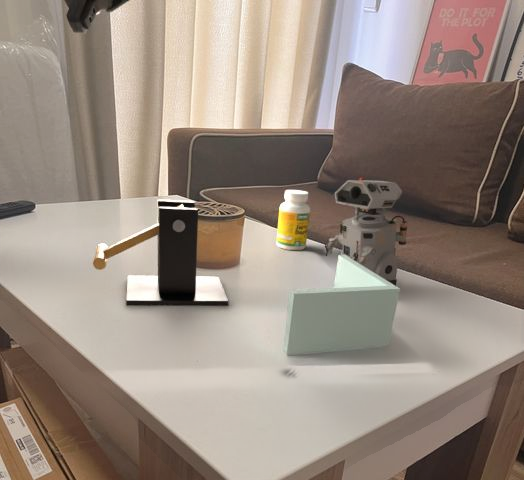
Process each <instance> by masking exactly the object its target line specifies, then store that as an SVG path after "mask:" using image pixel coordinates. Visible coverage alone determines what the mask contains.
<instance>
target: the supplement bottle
mask: <svg viewBox="0 0 524 480" xmlns="http://www.w3.org/2000/svg"><path fill="white" fill-rule="evenodd" d="M284 200H285V201H284V202H282V203H280V206H279V210H278V222H277V233H276V246H277V247H279V248H280V249H283V250H288V251H301V250H304V249H305V248H306V247H307V240H308V232H309V224H310V215H311V207H310V206H309V205H308V204H307V202H308V200H309V192H308V191H305V190H300V189H286V190H285V191H284Z"/></svg>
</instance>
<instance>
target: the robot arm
mask: <svg viewBox="0 0 524 480" xmlns="http://www.w3.org/2000/svg"><path fill="white" fill-rule="evenodd" d="M63 1H64V3H65V4H66V6H67V8H68V10H67V12H66V14H65V15H66V19H67V22H68V24H69V26H70V28H71V29H72V31H73V33H75V34H87V31H88V30H90V29H91V28H92V26H93V24H94V21H95V19H96V17H97V15H99V14H100V13H101V12H102V10H105V12H106V13H112V12H115V10H117V9H119V8H120V7H122V6H123V5H125V4H127V3H128V2H130V0H63Z"/></svg>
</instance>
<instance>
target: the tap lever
mask: <svg viewBox="0 0 524 480" xmlns="http://www.w3.org/2000/svg"><path fill="white" fill-rule="evenodd" d="M177 207H181V208H184V206H183V204H181V205H179V206H177ZM158 235H159V223H158V222H157V223H155V224H153V225H152V226H150V227H147V228H144V229H142V230H141V231H139V232H137V233H134V234H132V235H130V236H128V237H126V238H124V239H122V240H120V241H118V242H116V243H114V244H110V245H109V246H108V245H107V244H106V243H99V244H97V245H96V248H95V252H94V257H93V260H92V265H93V267H94V269H96V270H99V271H100V270H104V269H105V268H106V266H107V262H108V259H110V258H113V257H114V256H116V255H119V254H121V253H123V252H125V251H127V250H129V249H131V248H134V247H135V246H138V245H140V244H142V243H144V242H146V241H149V240H150V239H152V238H155V237H157V236H158Z"/></svg>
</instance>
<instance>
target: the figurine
mask: <svg viewBox="0 0 524 480" xmlns="http://www.w3.org/2000/svg"><path fill="white" fill-rule="evenodd" d="M402 194H403V191H402V189H401V188H400V186H399V185H398V184H397V183H396V182H394V181H386V180H371V179H370V180H369V179H368V180H367V179H366V180H365V177H360V178H359V179H347V180H346V181H345V182H344V183H343V184H342V185H341V186H340V187H338V189H337V190H336V191H335V192H334V199H335V204H339V205H344V206H350V207H353V210H354V211H355V212H354V216H353V217H350V218H346V219H344V220H343V221H340V223H339V233H338V234H337V235H336V236H335V237H331V238H329V239H328V243H324V248H325V257H327V256H328V253H330V254H332V252H333V249H334V248H336V246H337V244H341V245H342V248H341V253H340V255H346V256H348V257H349V258H351V259H353V260H354V261H356V262H358V263H359V264H361V265H362V266H364V267H366V268H367V269H369V270H370V271H372V272H374V273H375V274H377V275H379V276H380V277H382V278H383V279H385V280H387V281H388V282H390V283H392V284H393V285H395V286H396V287H397V282H398V280H397V274H398V273H397V272H398V259H397V256H396V250H397V249H396V243H398V245H400V246H405V245H406V244H407V232H408V221H406V220H405V218H404V217H403V216H402V215H396V216H394V217H392V218H391V217H388V216H385V214H386V212H387V210H386V209H392V208H393V206H394V205H395V203H396V201H397V200H399V198H400V197H401V196H402ZM397 218H401V220H402V221H400V224H399V225H400V226H399V231H397V225H398V224H397V222H398V220H397ZM336 269H337V267H336V268H335V270H336Z"/></svg>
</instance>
